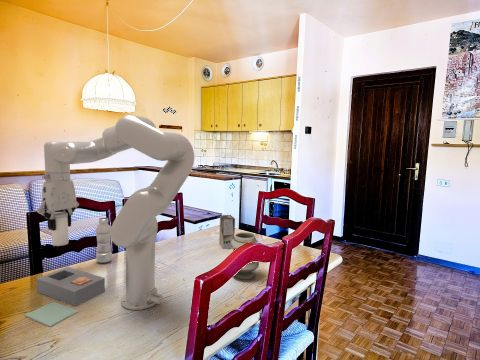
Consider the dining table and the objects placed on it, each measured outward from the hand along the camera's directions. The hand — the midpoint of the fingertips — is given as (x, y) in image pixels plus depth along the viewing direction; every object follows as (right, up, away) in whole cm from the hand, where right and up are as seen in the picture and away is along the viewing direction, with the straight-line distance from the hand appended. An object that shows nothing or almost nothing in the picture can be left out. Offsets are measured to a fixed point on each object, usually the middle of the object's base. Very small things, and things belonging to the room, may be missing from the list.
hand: (59, 227), depth 109 cm
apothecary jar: (+66, -24, +20) cm, 73 cm away
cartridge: (0, -6, +1) cm, 6 cm away
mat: (+5, -25, -13) cm, 29 cm away
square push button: (+8, -23, -1) cm, 25 cm away
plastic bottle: (+3, -20, +29) cm, 36 cm away
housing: (+3, -23, +1) cm, 24 cm away
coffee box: (+57, -19, +57) cm, 83 cm away
